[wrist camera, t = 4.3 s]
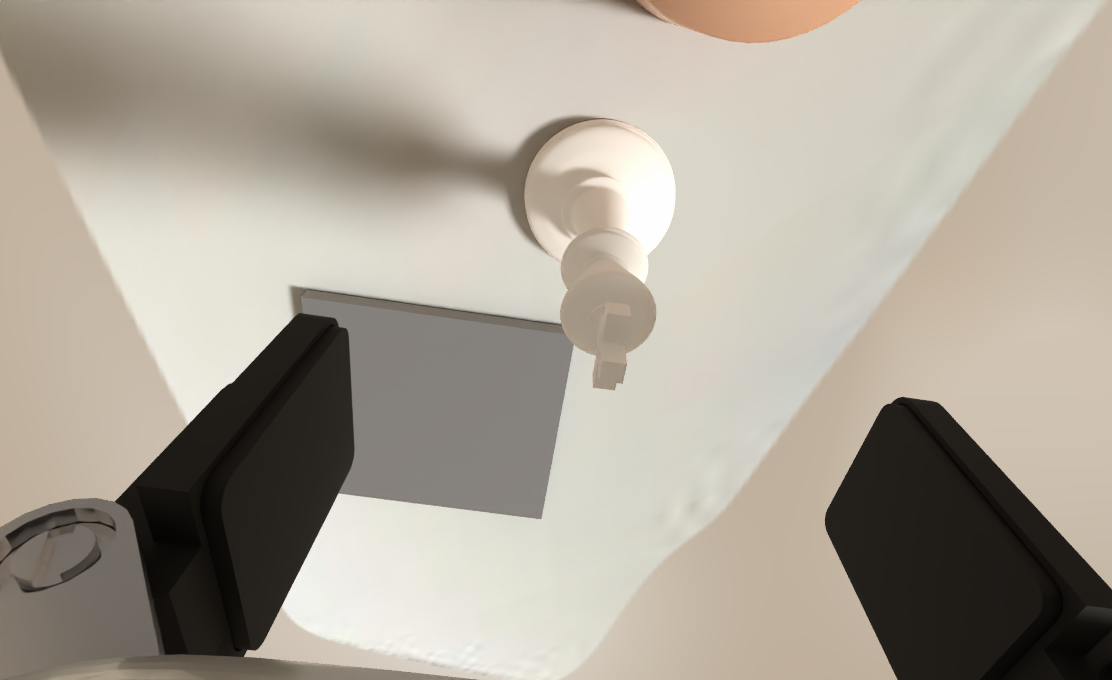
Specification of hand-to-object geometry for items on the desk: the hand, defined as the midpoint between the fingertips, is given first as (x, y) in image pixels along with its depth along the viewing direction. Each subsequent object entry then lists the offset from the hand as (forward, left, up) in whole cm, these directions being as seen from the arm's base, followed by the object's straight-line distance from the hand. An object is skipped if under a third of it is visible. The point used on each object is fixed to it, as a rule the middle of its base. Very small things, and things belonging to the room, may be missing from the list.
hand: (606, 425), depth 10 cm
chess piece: (-1, 0, -11) cm, 11 cm away
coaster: (+9, -5, -11) cm, 15 cm away
